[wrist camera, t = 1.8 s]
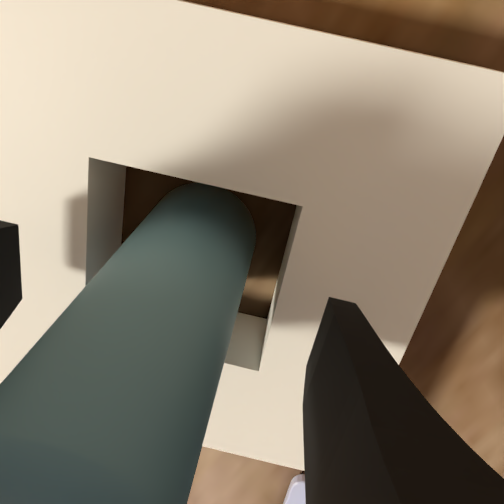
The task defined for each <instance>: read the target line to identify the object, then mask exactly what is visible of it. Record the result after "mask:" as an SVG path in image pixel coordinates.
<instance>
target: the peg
mask: <svg viewBox="0 0 504 504" xmlns="http://www.w3.org/2000/svg"><path fill="white" fill-rule="evenodd" d="M255 244H256V228H255V224H254V220H253V218H252V216H251V214H250V212H249V210H248V209H247V207H246V206H245V205H244V203H243V202H242V201H241V200H240V199H239V198H238V197H237V196H235V195H234V194H233V193H231V192H230V191H228V190H226V189H224V188H221V187H216V186H212V185H208V184H203V183H189V184H185V185H182V186H179V187H177V188H175V189H173V190H171V191H170V192H169V193H167V194H166V195H165V196H164V197H163V198H162V199H161V200H160V202H159V203H158V204H157V205H156V206H155V207H154V208H153V210H152V211H151V212H150V213H149V214H148V215H147V216H146V218H145V219H144V220H143V221H142V222H141V223H140V224H139V226H138V227H137V228H136V229H135V230H134V231H133V232H132V234H131V235H130V236H129V237H128V238H127V239H126V240H125V242H124V243H123V244H122V245H121V246H120V247H119V249H118V250H117V251H116V252H115V253H114V254H113V255H112V257H111V258H110V259H109V260H108V261H107V262H106V263H105V265H104V266H103V267H102V268H101V269H100V270H99V271H98V273H97V274H96V275H95V276H94V277H93V278H92V279H91V281H90V282H89V283H88V284H87V285H86V286H85V287H84V289H83V290H82V291H81V292H80V293H79V294H78V296H77V297H76V298H75V299H74V300H73V301H72V302H71V304H70V305H69V306H68V307H67V308H66V309H65V310H64V312H63V313H62V314H61V315H60V316H59V317H58V318H57V320H56V321H55V322H54V323H53V324H52V325H51V326H50V328H49V329H48V330H47V331H46V332H45V333H44V334H43V336H42V337H41V338H40V339H39V340H38V341H37V342H36V344H35V345H34V346H33V347H32V348H31V349H30V351H29V352H28V353H27V354H26V355H25V356H24V357H23V359H22V360H21V361H20V362H19V363H18V364H17V365H16V367H15V368H14V369H13V370H12V371H11V372H10V373H9V375H8V376H7V377H6V378H5V379H4V380H3V381H2V383H1V384H0V504H187V501H188V497H189V493H190V490H191V486H192V482H193V478H194V474H195V471H196V467H197V463H198V459H199V456H200V452H201V448H202V444H203V441H204V437H205V433H206V429H207V426H208V422H209V418H210V414H211V410H212V407H213V403H214V399H215V395H216V392H217V388H218V384H219V380H220V377H221V373H222V369H223V365H224V361H225V358H226V354H227V350H228V346H229V343H230V339H231V335H232V331H233V328H234V324H235V320H236V316H237V313H238V309H239V305H240V301H241V297H242V294H243V290H244V286H245V282H246V279H247V275H248V271H249V267H250V264H251V260H252V256H253V252H254V248H255Z"/></svg>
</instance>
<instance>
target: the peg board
mask: <svg viewBox="0 0 504 504" xmlns="http://www.w3.org/2000/svg"><path fill="white" fill-rule="evenodd" d="M503 136H504V72H501V71H497V70H493V69H489V68H485V67H481V66H476V65H472V64H467V63H463V62H458V61H454V60H449V59H445V58H440V57H436V56H431V55H427V54H422V53H418V52H413V51H409V50H404V49H400V48H395V47H391V46H386V45H382V44H377V43H373V42H368V41H364V40H359V39H355V38H350V37H346V36H341V35H337V34H332V33H328V32H323V31H319V30H314V29H310V28H305V27H300V26H296V25H291V24H287V23H282V22H278V21H273V20H269V19H264V18H260V17H255V16H251V15H246V14H242V13H237V12H233V11H228V10H224V9H219V8H215V7H210V6H206V5H201V4H197V3H192V2H188V1H183V0H0V220H1V221H5V222H10V223H14V224H18V226H19V245H20V263H21V282H22V300H21V301H20V303H19V304H18V306H17V307H16V309H15V310H14V311H13V313H12V314H11V316H10V317H9V318H8V320H7V321H6V322H5V324H4V325H3V326H2V328H1V329H0V384H1V383H2V381H3V380H4V379H5V378H6V377H7V376H8V375H9V373H10V372H11V371H12V370H13V369H14V368H15V367H16V365H17V364H18V363H19V362H20V361H21V360H22V359H23V357H24V356H25V355H26V354H27V353H28V352H29V351H30V349H31V348H32V347H33V346H34V345H35V344H36V342H37V341H38V340H39V339H40V338H41V337H42V336H43V334H44V333H45V332H46V331H47V330H48V329H49V328H50V326H51V325H52V324H53V323H54V322H55V321H56V320H57V318H58V317H59V316H60V315H61V314H62V313H63V312H64V310H65V309H66V308H67V307H68V306H69V305H70V304H71V302H72V301H73V300H74V299H75V298H76V297H77V296H78V294H79V293H80V292H81V291H82V290H83V289H84V287H85V286H86V285H87V284H88V283H89V282H90V281H91V279H92V278H93V277H94V276H95V275H96V274H97V273H98V271H99V270H100V269H101V268H102V267H103V266H104V265H105V263H106V262H107V261H108V260H109V259H110V258H111V257H112V255H113V254H114V253H115V252H116V251H117V250H118V249H119V247H120V246H121V241H122V226H123V211H124V196H125V181H126V166H129V167H134V168H138V169H142V170H147V171H151V172H156V173H160V174H164V175H169V176H173V177H177V178H182V179H186V180H190V181H195V182H199V183H203V184H208V185H212V186H216V187H221V188H225V189H229V190H234V191H238V192H243V193H247V194H251V195H256V196H260V197H264V198H269V199H273V200H277V201H282V202H286V203H290V204H295V205H297V206H296V210H295V214H294V218H293V221H292V225H291V229H290V233H289V237H288V241H287V244H286V248H285V252H284V256H283V260H282V264H281V268H280V271H279V275H278V279H277V283H276V287H275V291H274V294H273V298H272V302H271V306H270V310H269V314H268V318H267V319H265V318H261V317H256V316H252V315H248V314H244V313H239V312H238V313H237V316H236V320H235V324H234V328H233V331H232V335H231V339H230V343H229V346H228V350H227V354H226V358H225V361H224V365H223V369H222V373H221V377H220V380H219V384H218V388H217V392H216V395H215V399H214V403H213V407H212V410H211V414H210V418H209V422H208V426H207V429H206V433H205V437H204V441H203V444H202V446H203V447H208V448H212V449H216V450H220V451H224V452H228V453H232V454H236V455H241V456H245V457H249V458H253V459H257V460H261V461H265V462H270V463H274V464H278V465H282V466H286V467H290V468H294V469H299V470H303V471H305V469H304V441H303V394H304V383H305V373H306V365H307V362H308V359H309V356H310V353H311V350H312V347H313V344H314V341H315V338H316V335H317V332H318V329H319V325H320V322H321V319H322V316H323V313H324V310H325V307H326V304H327V301H328V298H329V297H332V298H336V299H340V300H345V301H349V302H353V303H356V304H357V306H358V307H359V308H360V310H361V311H362V313H363V314H364V316H365V317H366V319H367V320H368V322H369V323H370V325H371V326H372V328H373V329H374V331H375V332H376V334H377V335H378V337H379V338H380V340H381V341H382V342H383V344H384V345H385V347H386V348H387V350H388V351H389V352H390V354H391V355H392V357H393V358H394V359H395V361H396V362H397V363H398V365H399V364H400V361H401V359H402V357H403V355H404V353H405V351H406V348H407V346H408V344H409V342H410V340H411V337H412V335H413V333H414V331H415V329H416V326H417V324H418V322H419V320H420V318H421V315H422V313H423V311H424V309H425V307H426V304H427V302H428V300H429V298H430V296H431V293H432V291H433V289H434V287H435V285H436V283H437V280H438V278H439V276H440V274H441V272H442V269H443V267H444V265H445V263H446V261H447V258H448V256H449V254H450V252H451V250H452V247H453V245H454V243H455V241H456V239H457V236H458V234H459V232H460V230H461V228H462V225H463V223H464V221H465V219H466V217H467V215H468V212H469V210H470V208H471V206H472V204H473V201H474V199H475V197H476V195H477V193H478V190H479V188H480V186H481V184H482V182H483V179H484V177H485V175H486V173H487V171H488V168H489V166H490V164H491V162H492V160H493V157H494V155H495V153H496V151H497V149H498V146H499V144H500V142H501V140H502V138H503Z"/></svg>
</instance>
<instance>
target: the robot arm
mask: <svg viewBox="0 0 504 504" xmlns="http://www.w3.org/2000/svg"><path fill="white" fill-rule="evenodd" d="M21 300H22V282H21V263H20V245H19V226H18V224H14V223H10V222H5V221H1V220H0V329H1V328H2V326H3V325H4V324H5V322H6V321H7V320H8V318H9V317H10V316H11V314H12V313H13V311H14V310H15V309H16V307H17V306H18V304H19V303H20V301H21ZM303 441H304V469H305V474H300V475H297V476H295V477H293V479H292V480H291V483H290V486H289V489H288V491H287V494H286V497H285V500H284V502H283V504H504V479H503V478H502V477H501V476H500V475H499V474H498V473H497V472H496V471H495V470H493V469H492V468H491V467H490V466H489V465H488V464H487V463H486V462H485V461H484V460H483V459H482V458H481V457H480V456H479V455H478V454H476V453H475V452H474V451H473V450H472V449H471V448H470V447H469V446H468V445H467V444H466V443H465V442H464V440H463V439H462V438H461V437H460V436H459V435H458V434H457V433H456V432H455V431H454V430H453V429H452V428H451V427H450V426H449V425H448V424H447V423H446V422H445V421H444V419H443V418H442V417H441V416H440V415H439V414H438V413H437V412H436V411H435V409H434V408H433V407H432V406H431V405H430V404H429V403H428V401H427V400H426V399H425V398H424V396H423V395H422V394H421V393H420V392H419V390H418V389H417V388H416V387H415V385H414V384H413V383H412V382H411V381H410V379H409V378H408V377H407V375H406V374H405V373H404V371H403V370H402V369H401V368H400V366H399V365H398V363H397V362H396V361H395V359H394V358H393V357H392V355H391V354H390V352H389V351H388V350H387V348H386V347H385V345H384V344H383V342H382V341H381V340H380V338H379V337H378V335H377V334H376V332H375V331H374V329H373V328H372V326H371V325H370V323H369V322H368V320H367V319H366V317H365V316H364V314H363V313H362V311H361V310H360V308H359V307H358V306H357V304H356V303H353V302H349V301H345V300H340V299H336V298H332V297H329V298H328V301H327V304H326V307H325V310H324V313H323V316H322V319H321V322H320V325H319V329H318V332H317V335H316V338H315V341H314V344H313V347H312V350H311V353H310V356H309V359H308V362H307V365H306V373H305V383H304V394H303Z"/></svg>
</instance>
